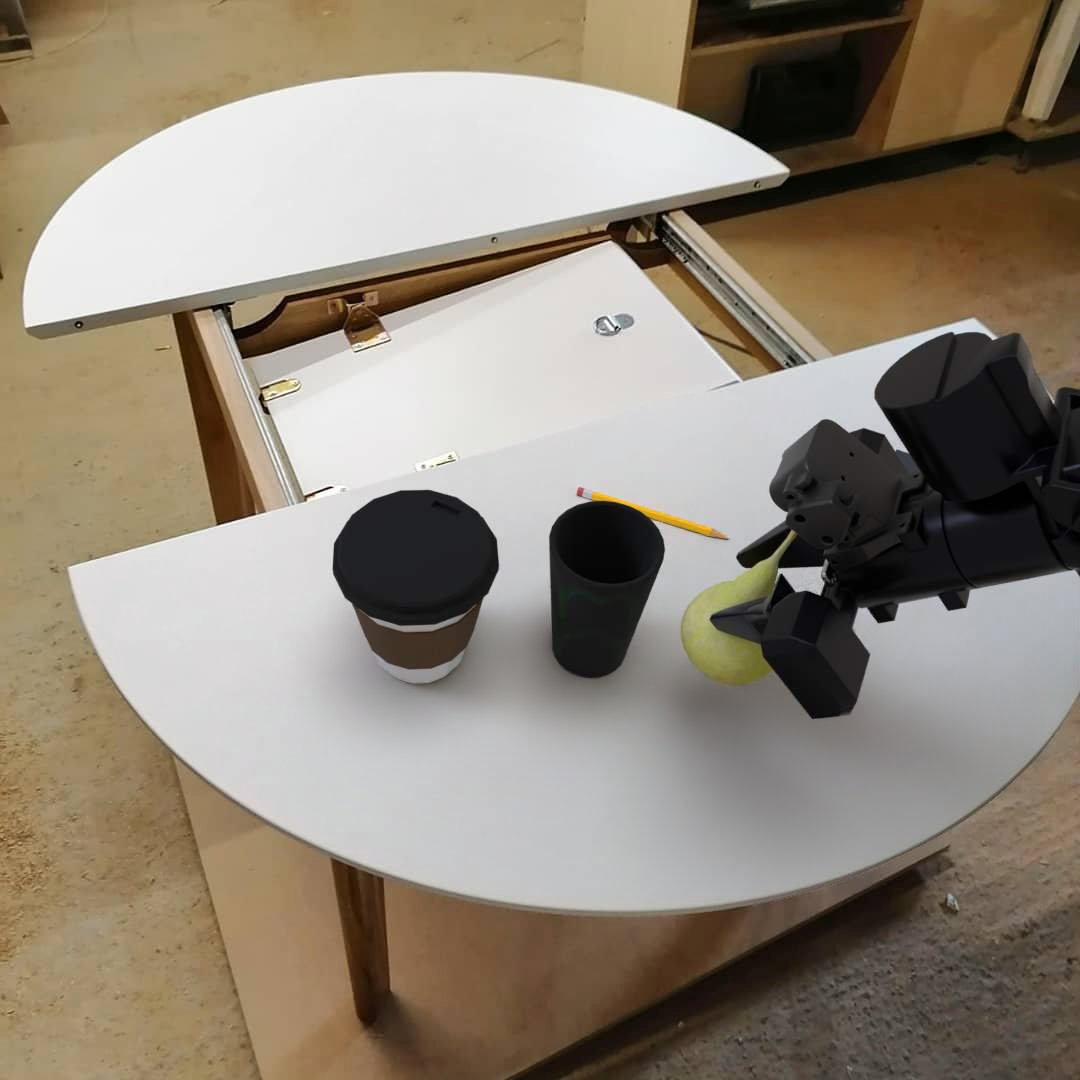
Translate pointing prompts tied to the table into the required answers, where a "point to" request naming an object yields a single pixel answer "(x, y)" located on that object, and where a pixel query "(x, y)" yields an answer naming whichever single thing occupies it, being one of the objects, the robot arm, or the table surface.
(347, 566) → the coffee cup
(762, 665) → the fruit
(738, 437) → the table surface
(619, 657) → the cup
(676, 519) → the pencil
